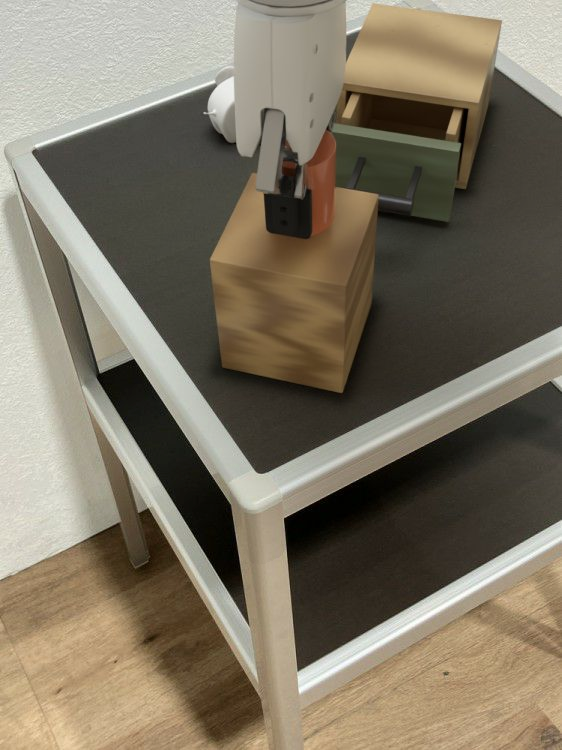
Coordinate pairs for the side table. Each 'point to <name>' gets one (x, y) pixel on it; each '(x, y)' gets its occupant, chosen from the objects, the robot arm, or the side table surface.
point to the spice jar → (320, 182)
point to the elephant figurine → (223, 104)
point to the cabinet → (426, 65)
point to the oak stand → (295, 292)
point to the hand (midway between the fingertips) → (300, 204)
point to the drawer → (401, 153)
